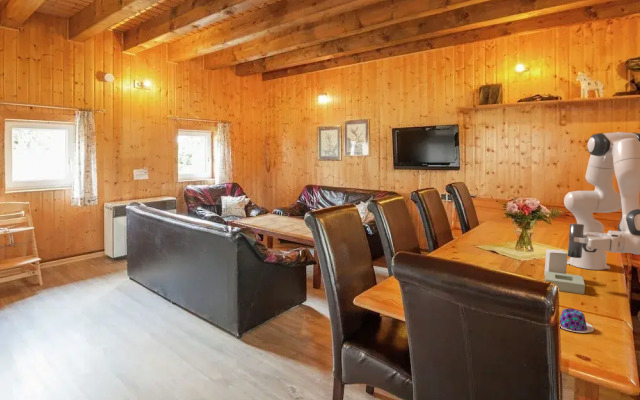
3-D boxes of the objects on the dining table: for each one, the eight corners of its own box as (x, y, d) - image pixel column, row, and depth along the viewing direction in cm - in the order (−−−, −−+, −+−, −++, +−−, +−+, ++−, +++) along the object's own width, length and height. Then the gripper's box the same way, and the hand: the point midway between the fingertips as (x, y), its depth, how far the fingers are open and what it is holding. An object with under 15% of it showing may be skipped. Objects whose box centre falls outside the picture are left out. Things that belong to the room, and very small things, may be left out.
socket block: (544, 279, 179) (545, 271, 178) (581, 284, 172) (582, 275, 171) (544, 288, 166) (545, 279, 166) (584, 294, 160) (584, 284, 159)
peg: (567, 254, 172) (569, 223, 170) (581, 255, 169) (583, 224, 168) (568, 257, 167) (570, 224, 166) (582, 258, 165) (584, 225, 164)
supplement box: (566, 280, 177) (568, 253, 176) (547, 279, 179) (549, 252, 178) (561, 276, 184) (563, 249, 183) (543, 274, 186) (545, 248, 185)
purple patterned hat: (555, 331, 126) (556, 315, 126) (548, 317, 137) (549, 302, 137) (599, 337, 122) (600, 321, 122) (587, 322, 133) (589, 307, 133)
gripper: (609, 229, 170) (572, 227, 177) (617, 238, 152) (575, 234, 159) (608, 244, 171) (571, 240, 177) (616, 253, 153) (574, 249, 160)
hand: (573, 237), depth 168 cm, fingers closed on peg, 5 cm apart
